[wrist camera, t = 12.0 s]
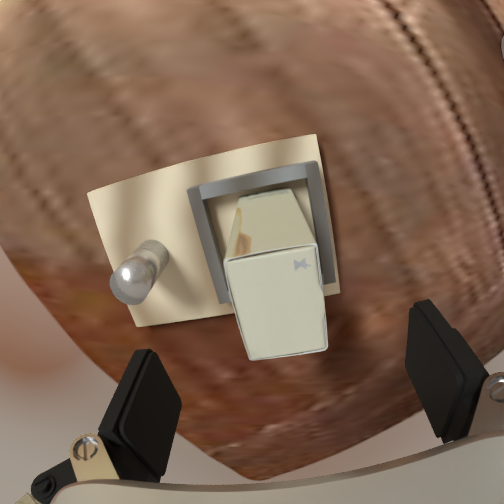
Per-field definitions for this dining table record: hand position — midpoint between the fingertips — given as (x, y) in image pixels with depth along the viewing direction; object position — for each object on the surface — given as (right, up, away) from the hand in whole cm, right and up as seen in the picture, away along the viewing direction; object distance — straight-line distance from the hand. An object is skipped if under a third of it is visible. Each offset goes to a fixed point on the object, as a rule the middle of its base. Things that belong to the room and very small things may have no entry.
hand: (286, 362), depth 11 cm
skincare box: (0, +6, +16) cm, 17 cm away
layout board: (-4, +5, +17) cm, 19 cm away
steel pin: (-10, +4, +16) cm, 20 cm away
